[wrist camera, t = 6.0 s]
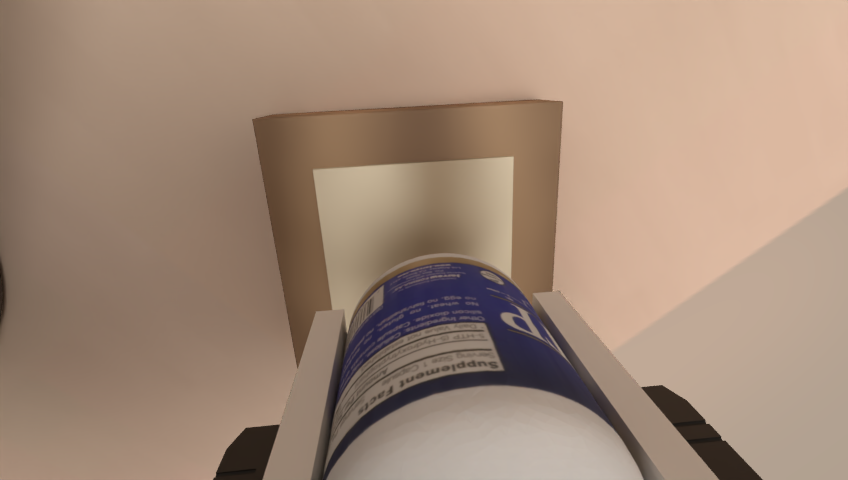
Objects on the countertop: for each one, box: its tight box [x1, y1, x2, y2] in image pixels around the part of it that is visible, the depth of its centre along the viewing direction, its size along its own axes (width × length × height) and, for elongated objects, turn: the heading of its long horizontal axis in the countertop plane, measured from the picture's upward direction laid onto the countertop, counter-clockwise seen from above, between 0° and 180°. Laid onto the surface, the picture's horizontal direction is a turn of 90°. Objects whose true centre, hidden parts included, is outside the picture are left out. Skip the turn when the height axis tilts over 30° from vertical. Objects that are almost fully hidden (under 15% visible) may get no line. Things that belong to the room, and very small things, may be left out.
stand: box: [252, 100, 563, 368], centre depth 20 cm, size 12×12×3 cm
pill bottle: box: [322, 253, 644, 480], centre depth 8 cm, size 5×5×9 cm
